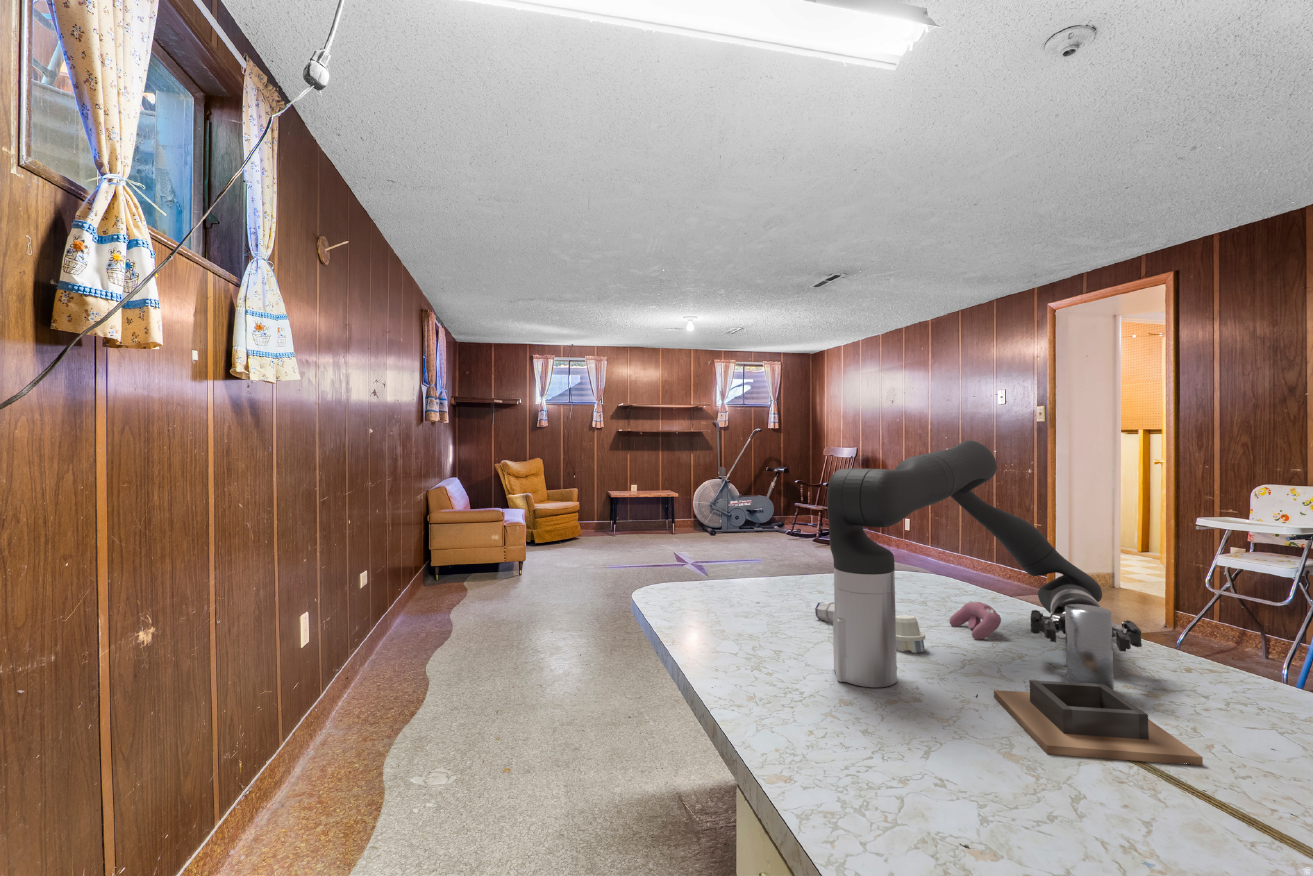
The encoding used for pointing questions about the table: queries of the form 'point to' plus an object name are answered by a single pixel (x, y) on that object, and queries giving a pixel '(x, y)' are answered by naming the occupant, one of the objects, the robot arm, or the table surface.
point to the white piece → (905, 628)
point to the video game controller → (977, 619)
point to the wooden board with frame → (1091, 723)
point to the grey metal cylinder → (1089, 645)
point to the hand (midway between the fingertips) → (1087, 640)
